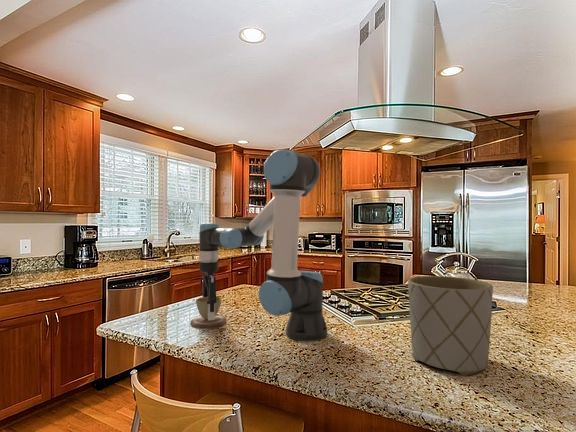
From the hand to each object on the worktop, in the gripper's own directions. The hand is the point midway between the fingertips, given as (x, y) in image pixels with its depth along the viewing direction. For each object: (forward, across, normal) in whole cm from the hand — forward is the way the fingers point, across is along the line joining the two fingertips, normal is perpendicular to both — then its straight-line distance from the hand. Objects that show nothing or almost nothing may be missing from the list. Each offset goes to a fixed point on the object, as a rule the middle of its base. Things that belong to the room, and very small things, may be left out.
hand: (208, 316), depth 139 cm
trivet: (+3, 0, 0) cm, 3 cm away
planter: (+3, -66, -58) cm, 88 cm away
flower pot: (+1, 0, 0) cm, 1 cm away
